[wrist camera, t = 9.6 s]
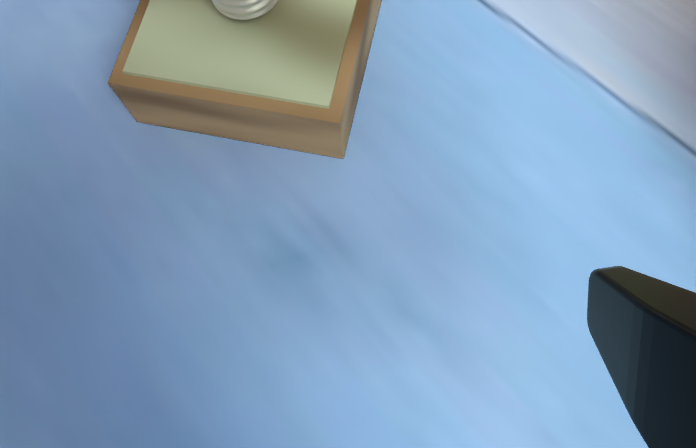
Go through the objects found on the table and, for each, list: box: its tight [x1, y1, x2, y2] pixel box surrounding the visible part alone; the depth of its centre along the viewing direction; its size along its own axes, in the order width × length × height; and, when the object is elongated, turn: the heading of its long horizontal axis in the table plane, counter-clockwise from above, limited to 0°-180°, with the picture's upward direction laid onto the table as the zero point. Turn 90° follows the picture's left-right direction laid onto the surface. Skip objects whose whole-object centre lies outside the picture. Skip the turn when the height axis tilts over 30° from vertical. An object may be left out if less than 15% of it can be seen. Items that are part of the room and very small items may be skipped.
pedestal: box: [108, 0, 382, 159], centre depth 25 cm, size 9×9×3 cm
